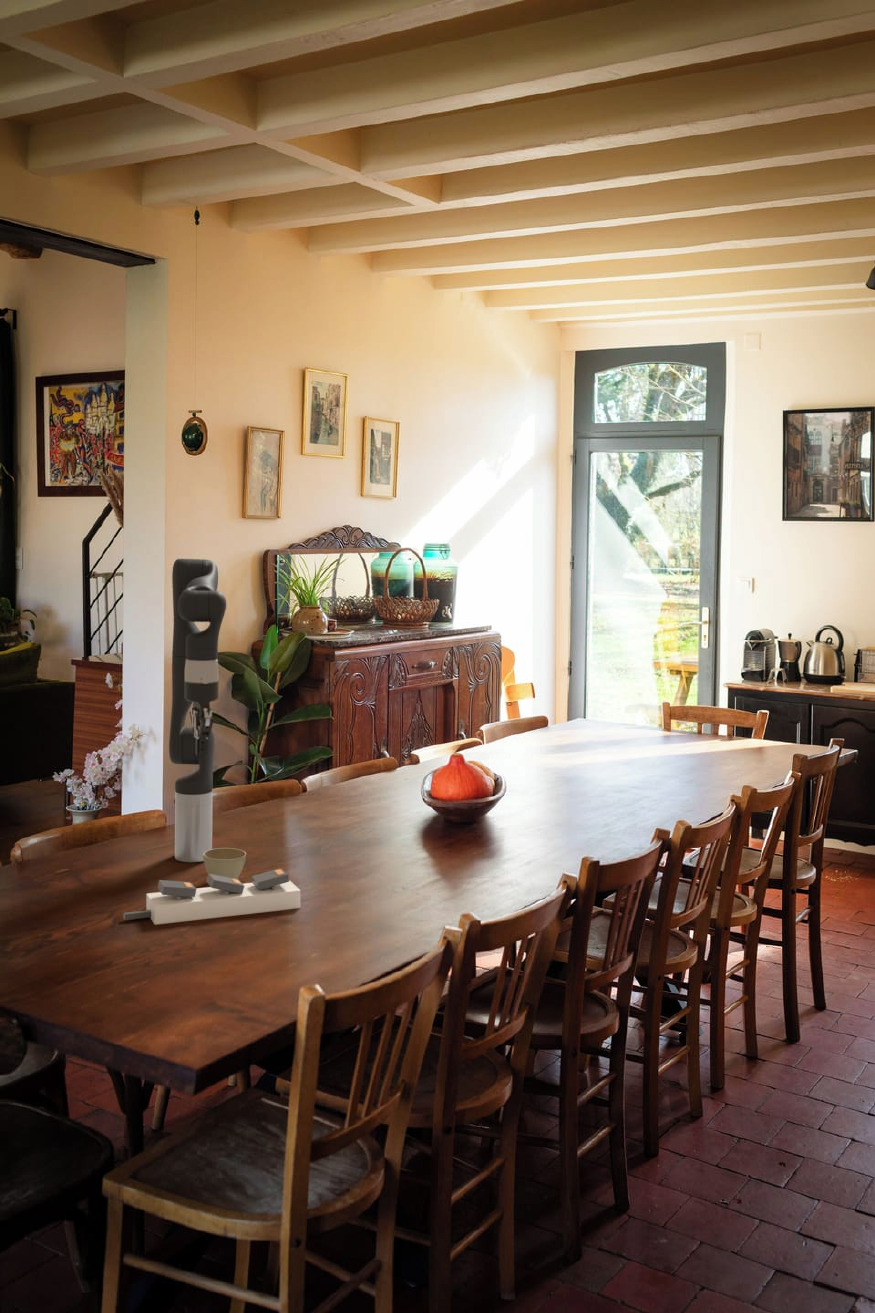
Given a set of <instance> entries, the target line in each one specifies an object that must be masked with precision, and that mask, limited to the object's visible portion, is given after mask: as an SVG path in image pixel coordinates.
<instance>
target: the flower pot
mask: <svg viewBox="0 0 875 1313" xmlns="http://www.w3.org/2000/svg"><path fill="white" fill-rule="evenodd" d="M246 857H247V852H246V851H244V850H242V849H239V848H233V847H217V848H212V849H210V850H207V851H205V852H204V853H203V858H204V861H203V862H204V863H203V864H204V868H205V870H206V872H207V875H208V874H213V875H218V876H224V877H229V878H234V879H239V877H240V875H241V874H242V871H243V868H244V865H245V862H246Z"/></svg>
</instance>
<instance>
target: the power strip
mask: <svg viewBox="0 0 875 1313" xmlns="http://www.w3.org/2000/svg"><path fill="white" fill-rule="evenodd" d="M242 884H243V885H244V889H243V893H242V894H241V893H235V892H230V891H225V890H220V889H214V888H211V886H207V887H198V888H197V887H195V888H196V894H195V897H186V896H171V895H162V893H161V892H160V891H158V892H149V893H146V897H145V898H146V900H145V901H146V910H138V911H137V910H136V911H128V912H123V919H124V921H128V920H135V919H136V920H137V919H138V920H139V919H145V918H150V920H151V921H152V922H153V924H154V925H155V926H156V925H165V924H172V923H173V924H174V923H181V922H182V923H183V922H189V921H199V920H207V919H217V918H223V917H225V918H226V917H232V916H233V917H235V916H240V915H241V916H243V915H251V914H258V913H259V914H260V913H268V912H278V911H279V912H280V911H286V910H294V909H301V892H302V891H301V889H299V887H298V886H296V884H295V883H293V882H292V881H291V880H290V879H289V882H287V883H283V884H279V885H276V886H272V887H269V888H265V889H262V890H258V889H257V888H256V887H255V886H254V885H253V883H252V882H246V883H242Z"/></svg>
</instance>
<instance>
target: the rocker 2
mask: <svg viewBox="0 0 875 1313" xmlns="http://www.w3.org/2000/svg"><path fill="white" fill-rule="evenodd" d="M205 882H206V883H207V884H208V886H209V887H211V888H214V889H220V890H225V891H230V892H235V893H241V894H242V893H243V889H244V885H243V884H244V883H242V882H241V880H240V879H239V878H238V879H234V878H229V877H224V876H218V875H213V874H208V873H207V877H206V881H205Z"/></svg>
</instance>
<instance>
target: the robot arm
mask: <svg viewBox="0 0 875 1313" xmlns="http://www.w3.org/2000/svg"><path fill="white" fill-rule="evenodd" d="M171 579H172V583H171V584H172V586H171V588H172V607H173V610H172V611H173V634H172V649H171V650H172V651H171V652H172V653H171V661H172V662H171V686H172V687H171V688H172V690H171V694H172V695H171V696H172V697H171V698H172V699H171V700H172V701H171V715H170V727H169V728H170V729H169V739H168V740H169V741H168V743H169V744H168V753H169V754H168V755H169V759H170V761H171V763H172V764H174V765H196V766H197V765H198V769H197V770H196V771H194V772H193V773H191V774H189V775H184V776H182V777H179V778H178V779H176V780H175V783H174V859H175V860H176V861H179V862H183V863H198V862H200V863H201V862H204V858H203V853H204V852H205V851H207V850H210V849H213V777H214V757H215V756H214V753H215V735H214V733H213V730H212V729H213V724H214V721H215V720H214V718H213V709H212V708H211V704H210V703H211V702H215V701H217V700H218V699H219V686H220V685H219V683H220V682H219V679H220V678H219V677H220V676H219V673H220V672H219V661H218V657H219V654H218V653H219V635H220V631H221V627H222V624H223V619H224V617H225V613H226V610H227V599H226V597H225V596H224V594H223V593H222V592H221V591H218V587H219V586H218V585H219V570H218V566H217V564H216V563H215V562H214V561H212V560H210V559H206V558H205V559H203V558H201V559H200V558H177V559H175V561H174V563H173V565H172V573H171ZM195 622H196V623H209V625H208V627H207V628H206V629H204V630H201V631H200V629H199V628H198V626H197V624H196V623H195ZM191 706H192V707H191ZM188 713H189V717H190V723H191V727H188V726H187V727H185V724H186V718H187V714H188Z"/></svg>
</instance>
